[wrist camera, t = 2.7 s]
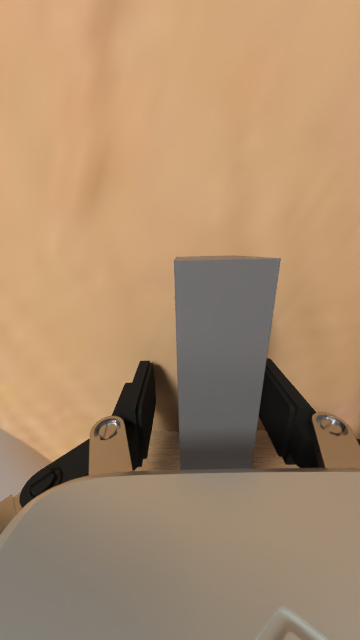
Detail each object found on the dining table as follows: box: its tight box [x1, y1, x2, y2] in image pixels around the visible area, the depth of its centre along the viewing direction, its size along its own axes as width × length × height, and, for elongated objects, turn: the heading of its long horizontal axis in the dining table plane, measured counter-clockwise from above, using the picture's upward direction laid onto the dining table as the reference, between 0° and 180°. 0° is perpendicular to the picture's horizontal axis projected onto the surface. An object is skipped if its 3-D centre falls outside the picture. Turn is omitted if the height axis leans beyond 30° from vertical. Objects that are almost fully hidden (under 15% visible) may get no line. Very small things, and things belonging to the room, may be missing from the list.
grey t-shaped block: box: [134, 256, 299, 471], centre depth 10 cm, size 12×13×5 cm
